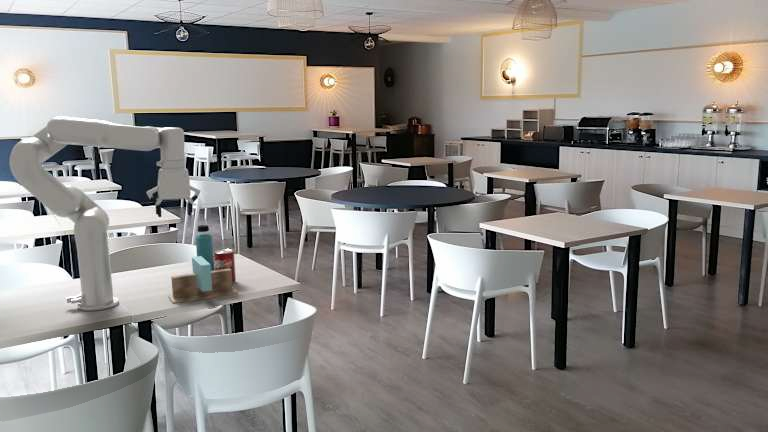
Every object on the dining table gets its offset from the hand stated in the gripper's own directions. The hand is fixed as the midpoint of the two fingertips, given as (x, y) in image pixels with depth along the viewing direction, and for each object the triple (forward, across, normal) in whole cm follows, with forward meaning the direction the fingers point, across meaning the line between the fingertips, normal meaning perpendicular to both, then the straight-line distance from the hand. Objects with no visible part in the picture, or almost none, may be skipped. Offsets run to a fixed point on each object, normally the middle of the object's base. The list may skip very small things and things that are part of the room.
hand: (174, 215), depth 223 cm
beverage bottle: (+28, +15, +23) cm, 40 cm away
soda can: (+28, +19, +10) cm, 36 cm away
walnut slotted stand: (+28, +8, -2) cm, 30 cm away
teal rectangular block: (+25, +8, -2) cm, 26 cm away
